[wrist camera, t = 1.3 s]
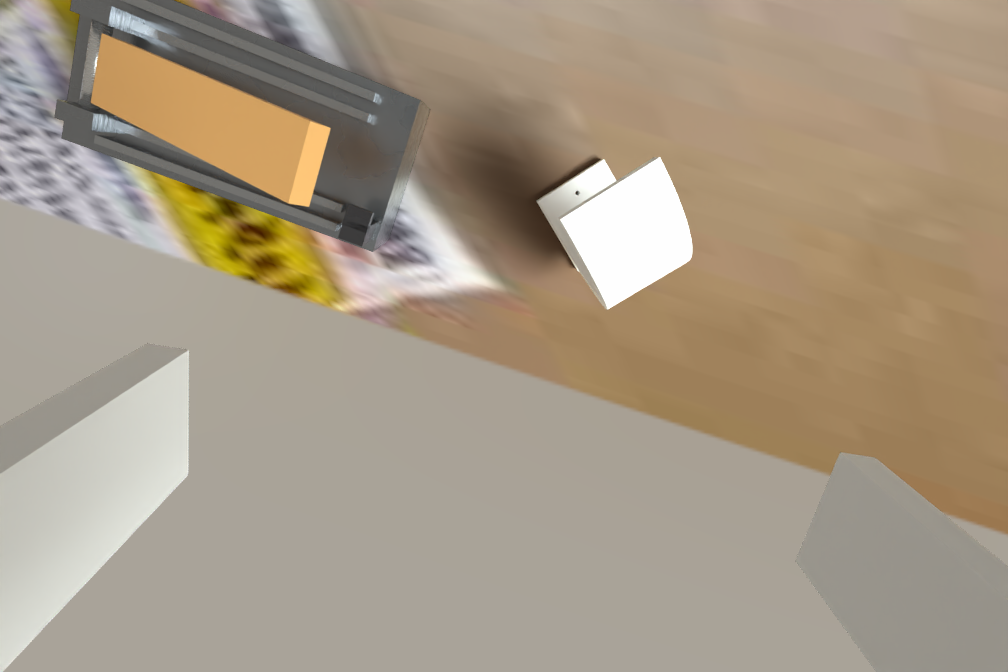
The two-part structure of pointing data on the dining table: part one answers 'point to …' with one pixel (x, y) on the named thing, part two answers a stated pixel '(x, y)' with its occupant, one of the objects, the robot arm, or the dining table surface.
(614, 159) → the dining table surface
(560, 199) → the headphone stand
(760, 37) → the dining table surface
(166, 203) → the dining table surface
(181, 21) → the block
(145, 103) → the tan flat bar
